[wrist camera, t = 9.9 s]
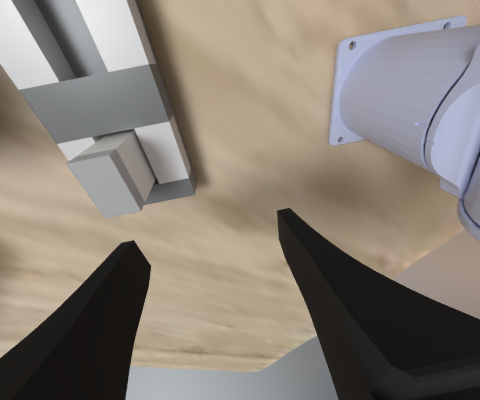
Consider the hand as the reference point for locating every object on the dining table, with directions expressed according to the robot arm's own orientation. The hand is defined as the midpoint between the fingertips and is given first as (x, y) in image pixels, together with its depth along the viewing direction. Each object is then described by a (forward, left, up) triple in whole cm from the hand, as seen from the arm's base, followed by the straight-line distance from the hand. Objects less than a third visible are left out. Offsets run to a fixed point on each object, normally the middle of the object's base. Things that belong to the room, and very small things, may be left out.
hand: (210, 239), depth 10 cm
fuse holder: (+6, -6, -10) cm, 13 cm away
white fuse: (+6, -2, -10) cm, 12 cm away
